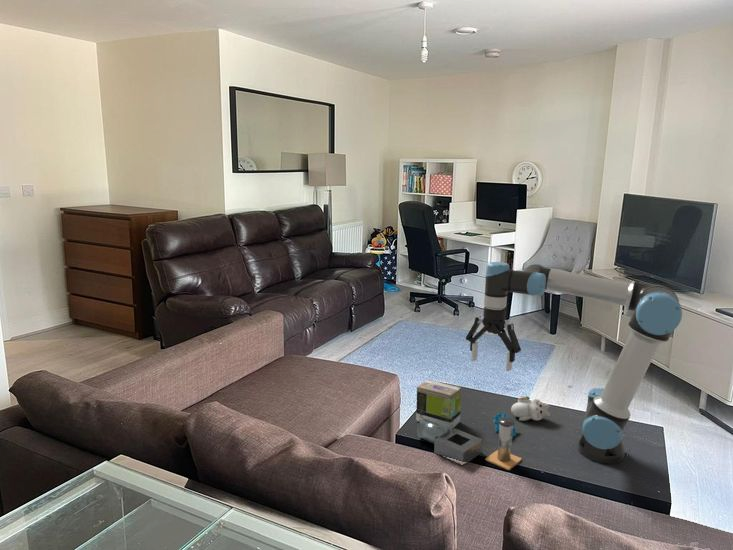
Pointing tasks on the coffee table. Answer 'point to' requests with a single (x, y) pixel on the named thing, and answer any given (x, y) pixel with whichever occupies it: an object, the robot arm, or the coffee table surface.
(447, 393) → the tea box
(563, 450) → the coffee table surface
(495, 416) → the gear
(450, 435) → the grey piece
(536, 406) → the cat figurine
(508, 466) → the pad
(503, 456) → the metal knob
